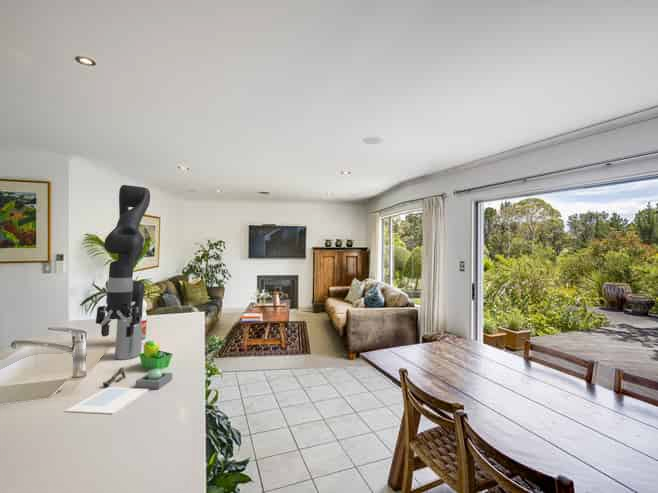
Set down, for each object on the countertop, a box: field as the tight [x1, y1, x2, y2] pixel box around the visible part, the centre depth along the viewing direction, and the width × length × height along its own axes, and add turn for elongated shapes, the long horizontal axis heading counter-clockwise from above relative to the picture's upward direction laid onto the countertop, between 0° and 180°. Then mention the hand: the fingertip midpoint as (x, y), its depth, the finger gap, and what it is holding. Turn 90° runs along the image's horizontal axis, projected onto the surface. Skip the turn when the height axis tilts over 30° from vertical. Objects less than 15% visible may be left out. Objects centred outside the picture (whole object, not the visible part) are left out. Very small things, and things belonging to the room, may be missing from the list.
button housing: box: [135, 372, 173, 390], centre depth 104 cm, size 8×8×2 cm
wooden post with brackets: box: [102, 366, 127, 388], centre depth 105 cm, size 2×8×4 cm, turn 171°
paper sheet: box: [64, 386, 150, 415], centre depth 92 cm, size 16×14×1 cm
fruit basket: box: [138, 340, 174, 370], centre depth 120 cm, size 11×9×11 cm
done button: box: [147, 369, 163, 380], centre depth 104 cm, size 4×4×3 cm
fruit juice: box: [131, 297, 148, 344], centre depth 151 cm, size 9×9×28 cm
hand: (117, 336), depth 105 cm, fingers open, 8 cm apart
